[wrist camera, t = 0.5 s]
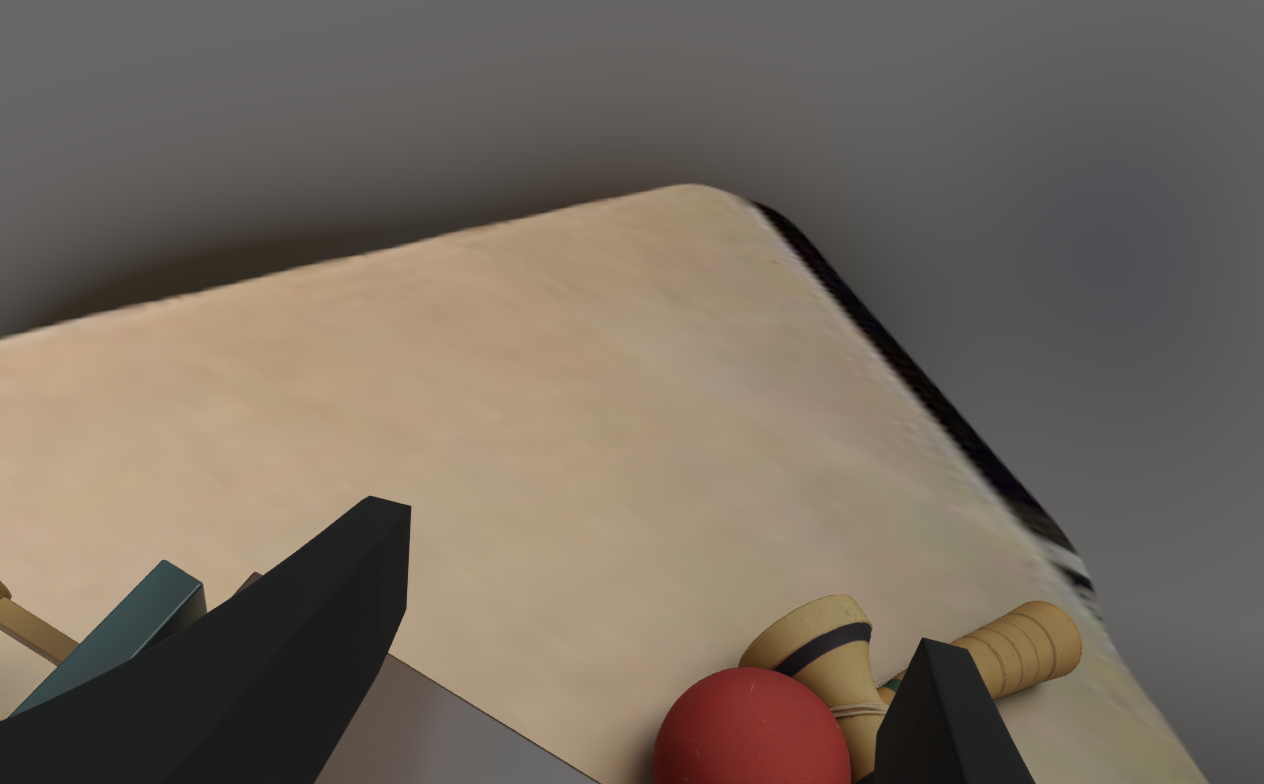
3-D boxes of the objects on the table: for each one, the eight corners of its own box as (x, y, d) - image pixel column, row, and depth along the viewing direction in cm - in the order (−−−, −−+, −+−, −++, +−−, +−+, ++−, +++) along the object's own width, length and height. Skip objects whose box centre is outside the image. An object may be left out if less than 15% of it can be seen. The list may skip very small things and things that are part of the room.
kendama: (937, 567, 42) (583, 690, 32) (1053, 515, 37) (681, 639, 27) (1022, 747, 39) (669, 943, 29) (1159, 716, 34) (793, 937, 24)
